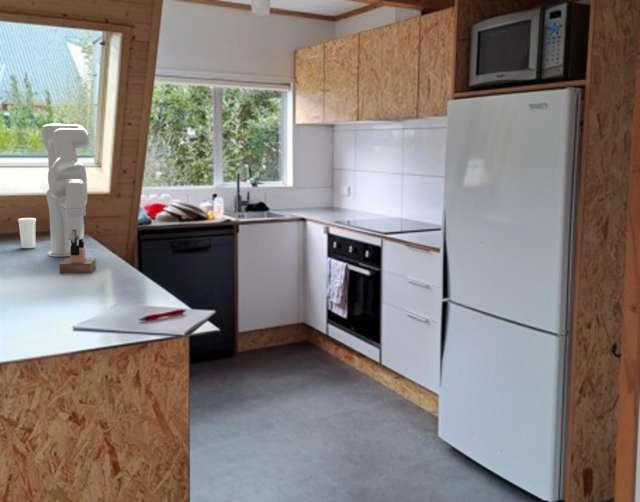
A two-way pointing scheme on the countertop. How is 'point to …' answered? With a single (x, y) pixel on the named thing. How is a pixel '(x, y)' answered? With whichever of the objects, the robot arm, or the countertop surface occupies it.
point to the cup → (27, 232)
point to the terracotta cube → (78, 256)
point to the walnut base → (78, 266)
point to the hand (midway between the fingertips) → (77, 253)
